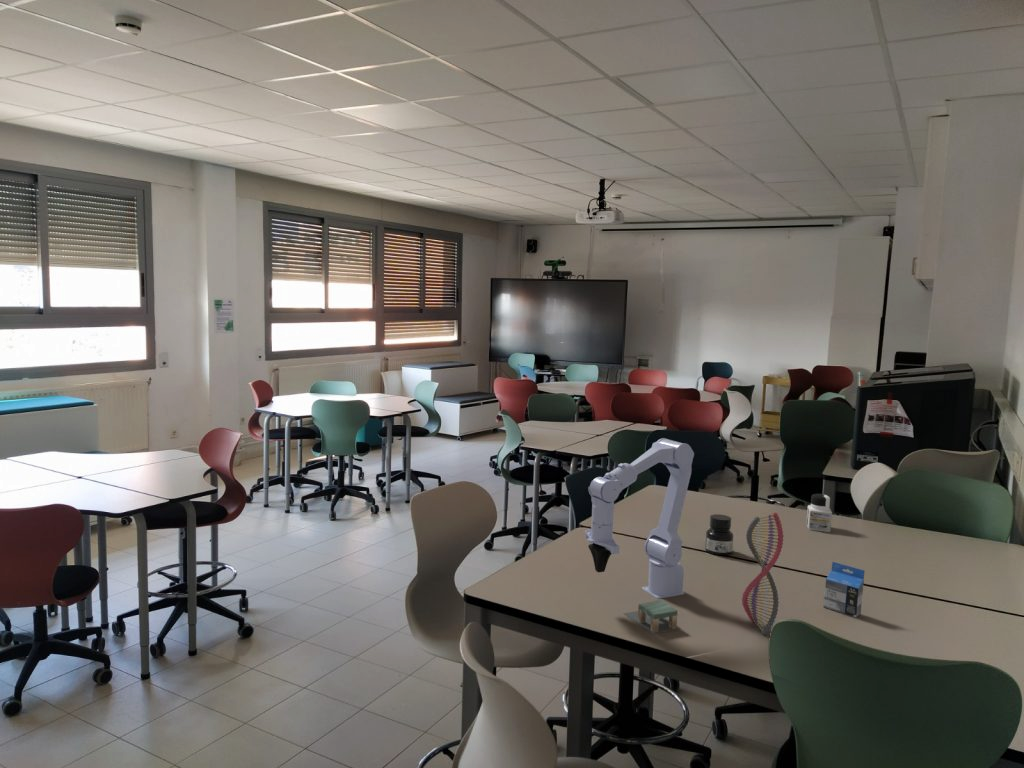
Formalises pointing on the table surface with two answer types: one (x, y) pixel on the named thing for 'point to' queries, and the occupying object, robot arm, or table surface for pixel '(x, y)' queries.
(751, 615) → the dna model
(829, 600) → the ink cartridge box
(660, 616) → the stool
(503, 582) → the table surface
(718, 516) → the ink bottle
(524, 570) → the table surface
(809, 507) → the container
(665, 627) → the mat
